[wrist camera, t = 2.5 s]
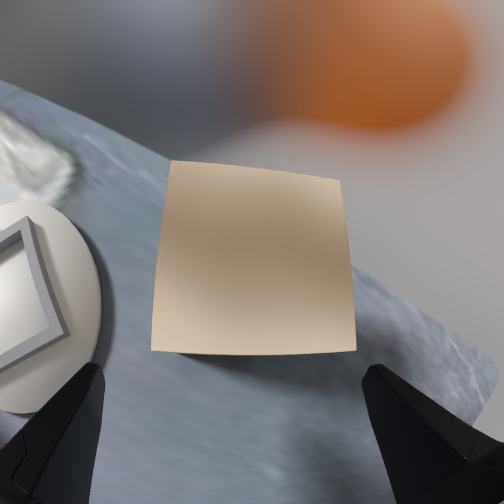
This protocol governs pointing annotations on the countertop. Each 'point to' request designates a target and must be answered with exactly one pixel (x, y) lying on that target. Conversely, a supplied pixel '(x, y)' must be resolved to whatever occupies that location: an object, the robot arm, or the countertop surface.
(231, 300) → the birch block
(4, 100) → the countertop surface
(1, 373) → the locating plate
